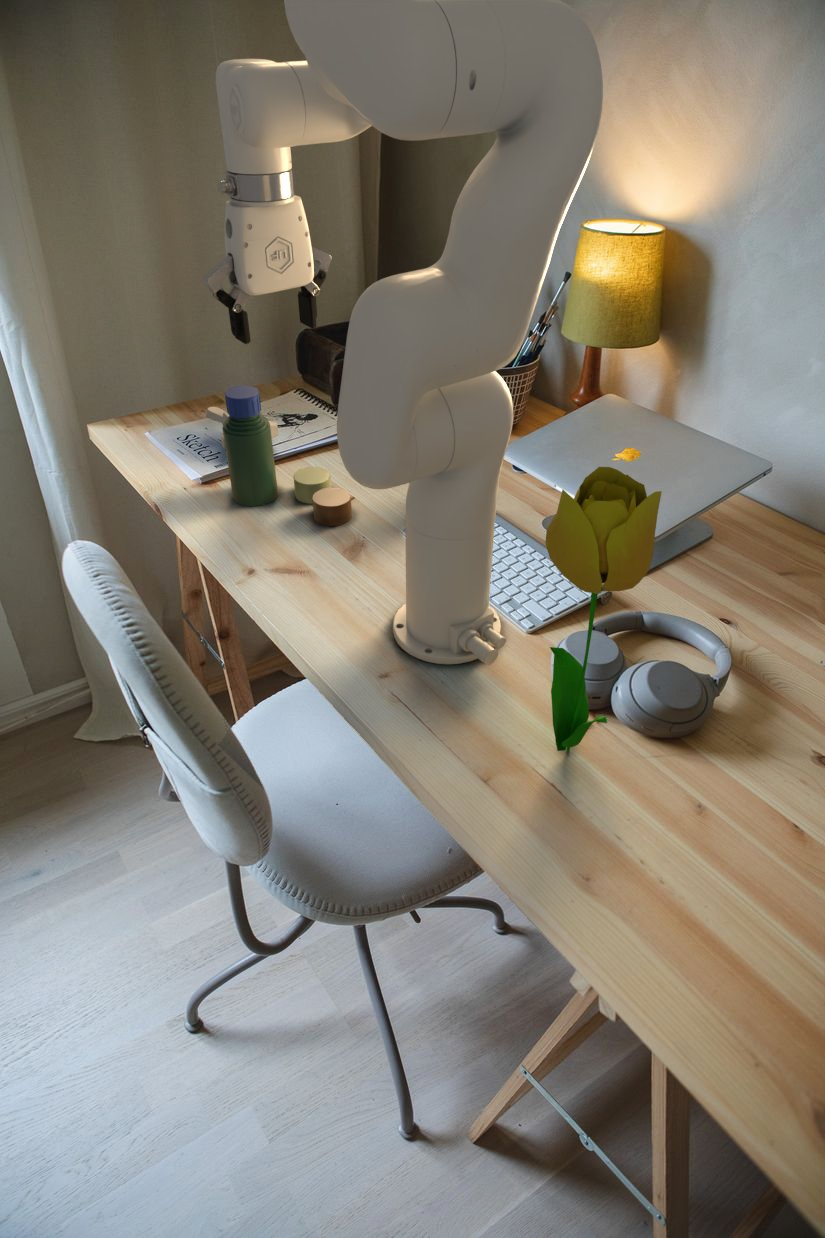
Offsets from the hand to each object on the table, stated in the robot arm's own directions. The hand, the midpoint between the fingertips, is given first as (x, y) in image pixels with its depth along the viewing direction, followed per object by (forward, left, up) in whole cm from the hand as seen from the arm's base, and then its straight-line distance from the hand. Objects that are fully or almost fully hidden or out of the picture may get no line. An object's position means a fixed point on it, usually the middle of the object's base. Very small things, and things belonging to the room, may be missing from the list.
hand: (276, 332), depth 107 cm
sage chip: (-2, -3, -24) cm, 24 cm away
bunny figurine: (+20, -3, -24) cm, 32 cm away
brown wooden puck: (-9, -2, -24) cm, 26 cm away
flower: (-61, +3, -24) cm, 65 cm away
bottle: (+3, +4, -24) cm, 25 cm away
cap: (+3, +4, -9) cm, 10 cm away
